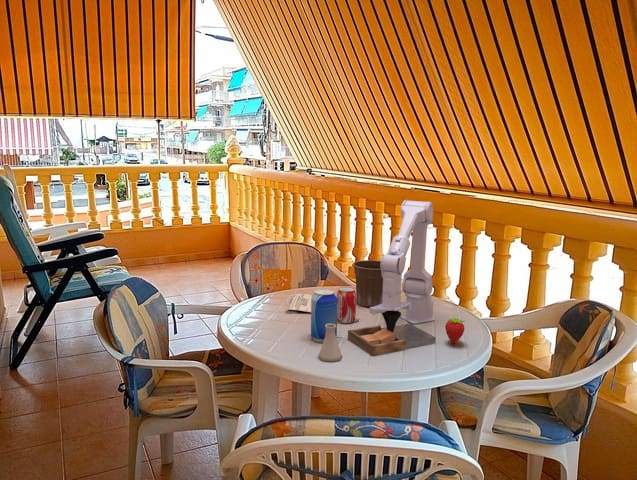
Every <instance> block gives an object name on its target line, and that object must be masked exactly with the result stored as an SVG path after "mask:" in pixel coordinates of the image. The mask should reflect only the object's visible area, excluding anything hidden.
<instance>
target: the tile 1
mask: <svg viewBox="0 0 637 480" xmlns="http://www.w3.org/2000/svg"><path fill="white" fill-rule="evenodd" d="M361 337H362V338H364V339H365V340H367V341H369V342H370V343H372V344H373V345H377V344H379V342H380V339H378V338H376V337H375V336H373V335H372V334H369V335H363V336H361Z"/></svg>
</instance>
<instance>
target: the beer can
mask: <svg viewBox="0 0 637 480" xmlns="http://www.w3.org/2000/svg"><path fill="white" fill-rule="evenodd" d="M312 295H313V296H312V298H311V312H310V336H311V338H312V340H313V341H315V342H317V343H321V344H323V342H324V339H325V335H326V327H325V325H326V324H335V325H336V328H335V335H336V337H337V335H338V320H337V302H338V299H337V294H336V291H335V290H333V289H331V288H318V289H315V290H314V293H313V294H312Z"/></svg>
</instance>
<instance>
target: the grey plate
mask: <svg viewBox="0 0 637 480" xmlns="http://www.w3.org/2000/svg"><path fill="white" fill-rule="evenodd" d="M384 328H386V329H387V327H381V330H382V329H384ZM393 333H394V336H395V340H394V341H398V340H406V350H407V349H412V348H417V347H423V346H427V345H432V344H436V339H437V338H436V336H434V335H432V334H430V333H428V332H426V331H424V330H423V329H421V328H419V327H417V326H415V325H414V324H412V323H404V324H399V325H398V324H397V325H395V328H394V331H393ZM392 342H393V341H392Z"/></svg>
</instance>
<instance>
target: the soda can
mask: <svg viewBox="0 0 637 480" xmlns="http://www.w3.org/2000/svg"><path fill="white" fill-rule="evenodd" d="M336 296H337V299H338V302H337V322H339V323H341V324H352V323H353V322H355V321H356V314H357V297H356V288H354V287H351V286H340V287H338V290H337V292H336Z"/></svg>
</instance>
